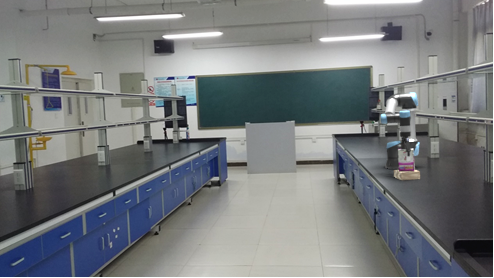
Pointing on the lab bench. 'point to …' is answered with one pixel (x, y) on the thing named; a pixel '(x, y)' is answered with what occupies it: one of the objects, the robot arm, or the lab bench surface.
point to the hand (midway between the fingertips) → (406, 159)
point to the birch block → (407, 175)
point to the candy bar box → (402, 161)
